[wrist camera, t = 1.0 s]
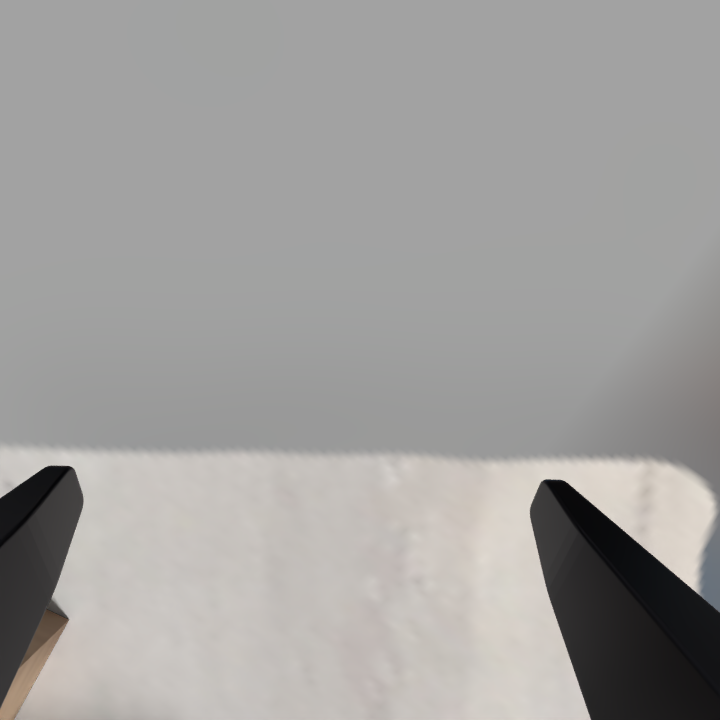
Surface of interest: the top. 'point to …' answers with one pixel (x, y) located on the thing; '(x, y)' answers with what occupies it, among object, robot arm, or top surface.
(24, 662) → the rack
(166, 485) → the top surface
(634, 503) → the top surface
